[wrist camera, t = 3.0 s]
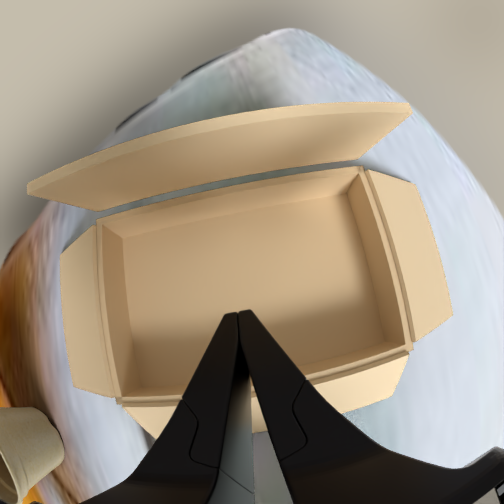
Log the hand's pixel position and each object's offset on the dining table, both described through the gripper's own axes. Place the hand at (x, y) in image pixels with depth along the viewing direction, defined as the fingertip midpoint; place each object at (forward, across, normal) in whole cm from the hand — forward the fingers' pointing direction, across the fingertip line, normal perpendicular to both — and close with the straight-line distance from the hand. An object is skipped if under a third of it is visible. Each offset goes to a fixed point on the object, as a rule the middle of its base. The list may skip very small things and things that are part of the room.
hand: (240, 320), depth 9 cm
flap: (+10, 0, -2) cm, 10 cm away
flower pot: (+1, +22, +13) cm, 26 cm away
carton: (+7, 0, +7) cm, 10 cm away
